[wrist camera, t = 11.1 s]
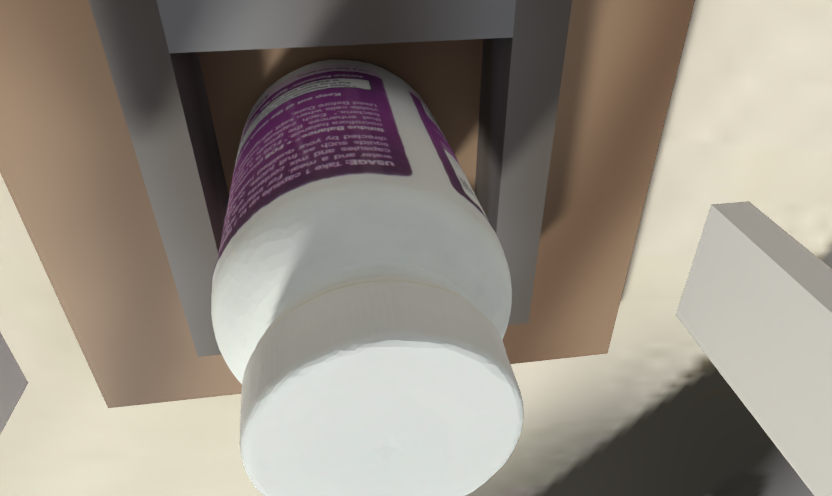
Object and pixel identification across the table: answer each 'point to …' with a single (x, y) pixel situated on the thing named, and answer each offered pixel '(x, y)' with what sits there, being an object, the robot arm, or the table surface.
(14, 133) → the socket block
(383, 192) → the pill bottle
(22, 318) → the table surface
